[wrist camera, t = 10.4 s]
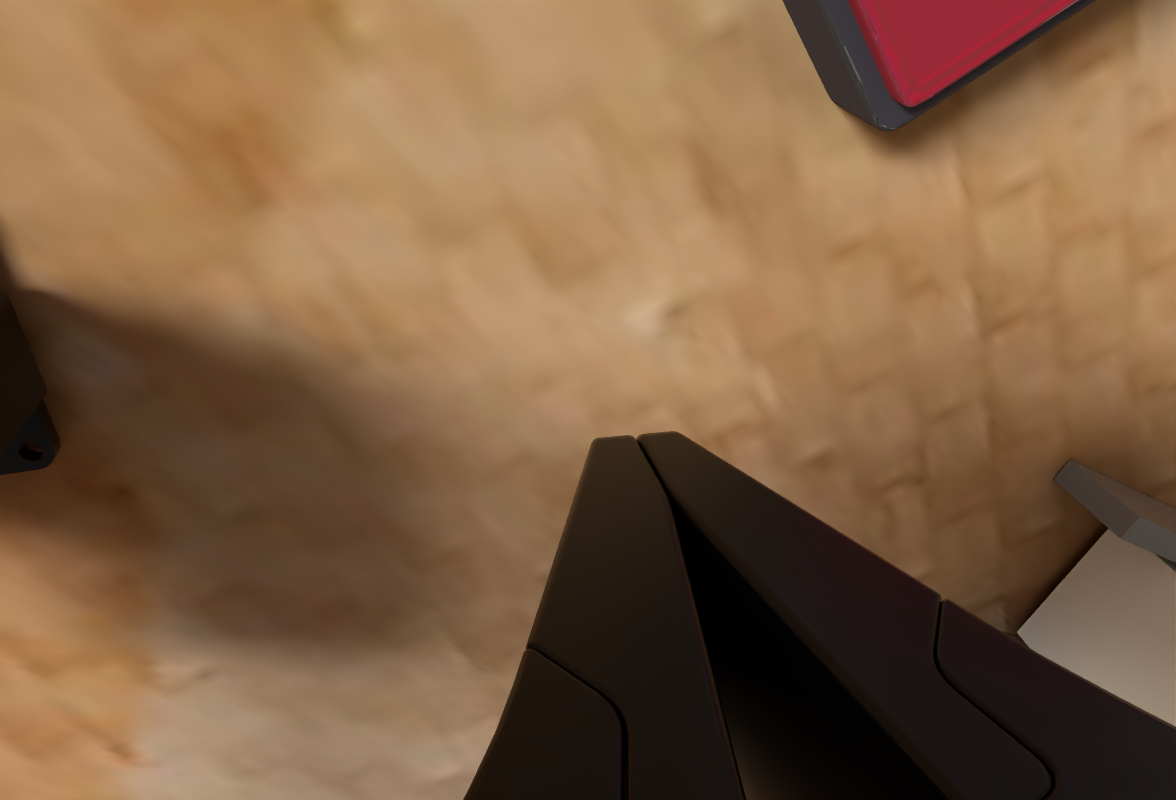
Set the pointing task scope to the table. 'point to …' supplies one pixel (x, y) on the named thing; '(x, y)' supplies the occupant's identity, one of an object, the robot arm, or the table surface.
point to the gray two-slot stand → (1121, 511)
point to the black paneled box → (914, 47)
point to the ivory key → (1114, 624)
